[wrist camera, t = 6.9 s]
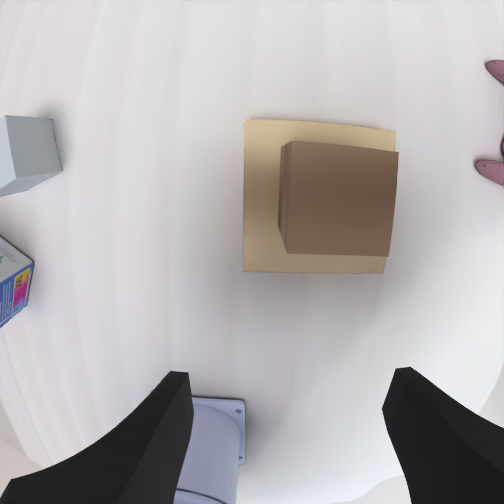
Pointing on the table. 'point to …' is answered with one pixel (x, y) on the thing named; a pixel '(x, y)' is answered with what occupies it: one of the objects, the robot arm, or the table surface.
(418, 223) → the table surface
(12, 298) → the ink cartridge box
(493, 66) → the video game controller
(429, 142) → the table surface
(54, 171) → the grey block
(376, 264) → the oak slab
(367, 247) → the walnut block
